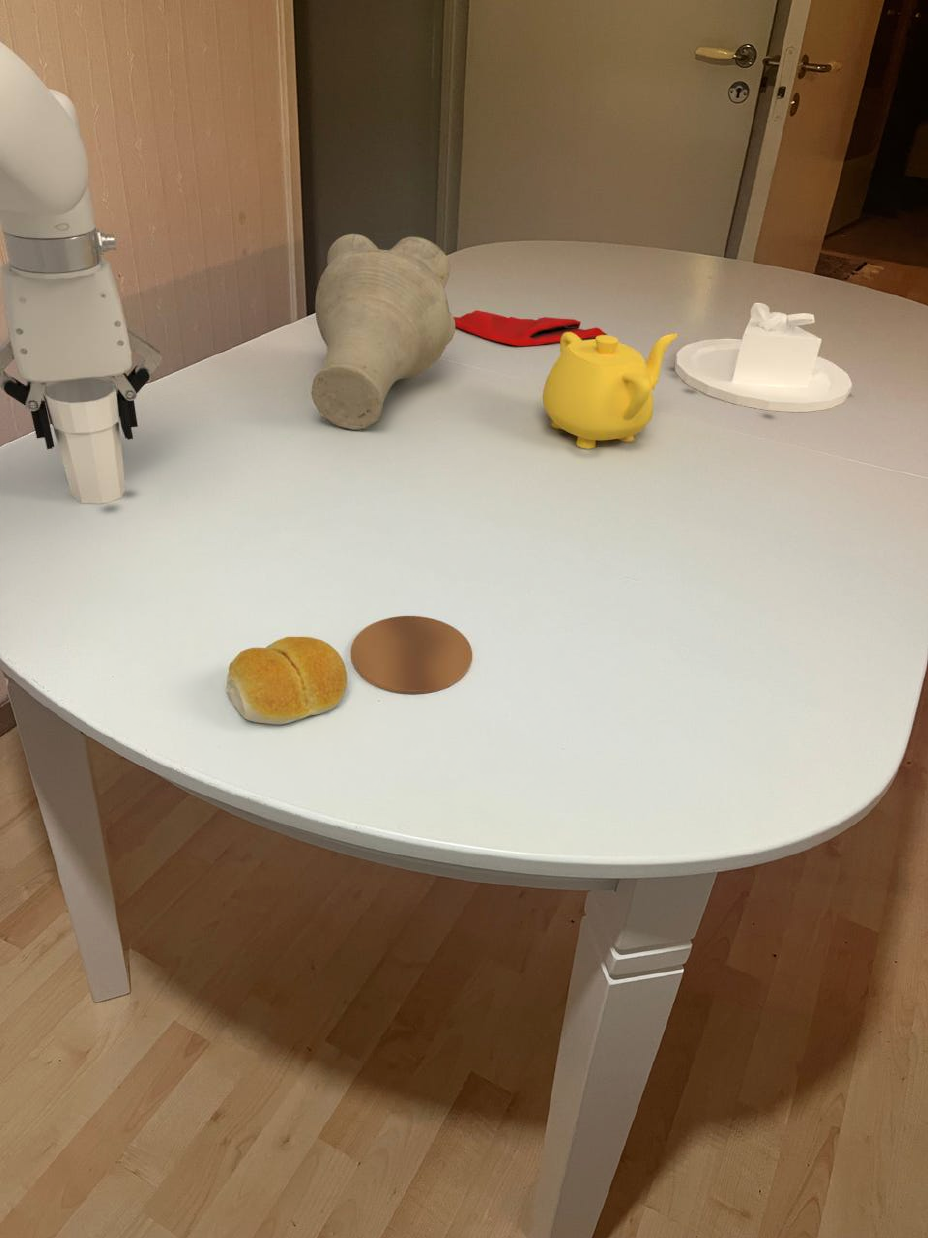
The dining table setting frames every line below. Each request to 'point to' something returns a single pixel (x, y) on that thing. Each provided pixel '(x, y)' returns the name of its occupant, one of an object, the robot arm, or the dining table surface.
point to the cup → (88, 437)
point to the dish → (766, 366)
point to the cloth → (521, 328)
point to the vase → (378, 323)
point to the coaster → (411, 654)
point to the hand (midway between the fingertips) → (88, 437)
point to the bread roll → (286, 680)
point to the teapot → (602, 388)
